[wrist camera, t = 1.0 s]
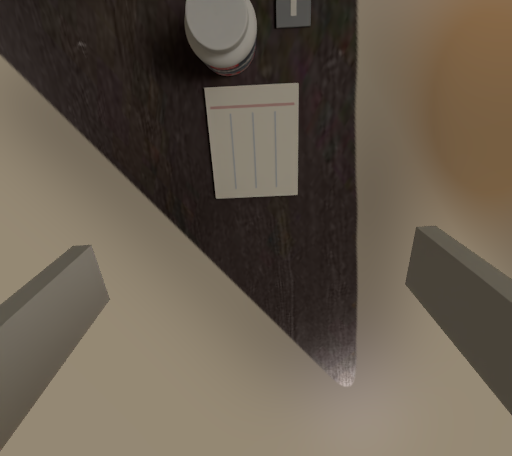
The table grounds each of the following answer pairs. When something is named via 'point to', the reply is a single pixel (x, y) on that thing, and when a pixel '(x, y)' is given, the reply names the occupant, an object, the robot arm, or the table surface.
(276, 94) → the paper
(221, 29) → the pill bottle
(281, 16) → the grey striped flat block
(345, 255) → the table surface
